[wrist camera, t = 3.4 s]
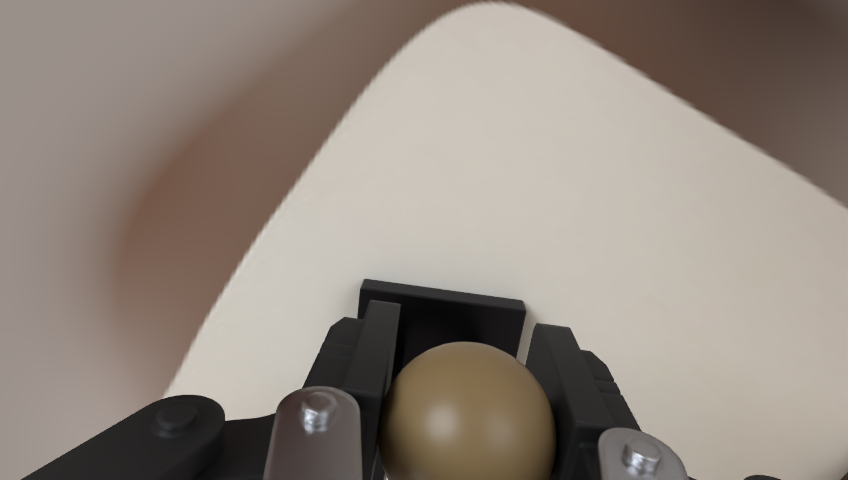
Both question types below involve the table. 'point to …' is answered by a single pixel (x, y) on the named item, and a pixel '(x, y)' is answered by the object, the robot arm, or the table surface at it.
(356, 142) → the table surface
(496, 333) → the switch bracket
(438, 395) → the switch lever
